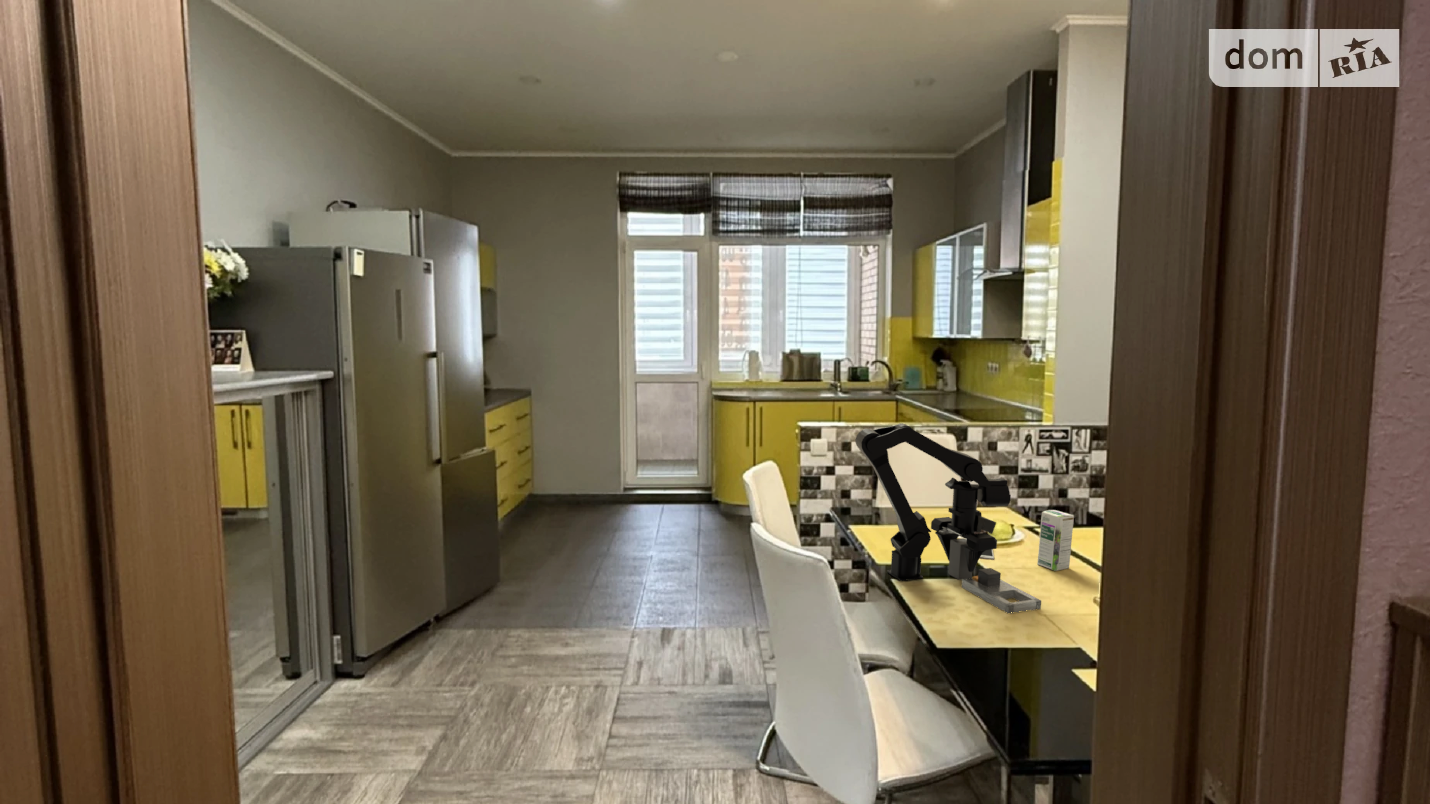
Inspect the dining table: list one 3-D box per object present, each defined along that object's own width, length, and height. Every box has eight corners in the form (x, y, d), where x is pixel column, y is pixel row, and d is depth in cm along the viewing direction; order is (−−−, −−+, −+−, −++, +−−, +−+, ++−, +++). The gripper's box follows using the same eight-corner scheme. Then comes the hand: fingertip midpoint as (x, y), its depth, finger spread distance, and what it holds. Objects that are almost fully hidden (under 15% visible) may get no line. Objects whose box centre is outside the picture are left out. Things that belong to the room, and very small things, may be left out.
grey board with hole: (1008, 613, 162) (1009, 592, 161) (961, 587, 177) (962, 567, 176) (1040, 609, 165) (1042, 587, 164) (992, 583, 180) (993, 563, 179)
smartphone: (990, 544, 212) (991, 540, 211) (993, 561, 197) (994, 557, 197) (964, 541, 214) (965, 538, 214) (965, 558, 199) (966, 554, 199)
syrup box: (1036, 564, 194) (1040, 511, 192) (1051, 561, 196) (1055, 508, 195) (1055, 571, 189) (1059, 516, 187) (1070, 568, 191) (1074, 514, 190)
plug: (958, 579, 182) (960, 544, 181) (948, 574, 185) (950, 539, 184) (971, 578, 183) (974, 543, 182) (961, 572, 187) (963, 538, 186)
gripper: (1017, 513, 176) (1012, 576, 178) (967, 494, 193) (963, 551, 195) (979, 516, 172) (974, 580, 174) (931, 497, 190) (928, 555, 192)
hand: (960, 566), depth 184 cm, fingers open, 8 cm apart
